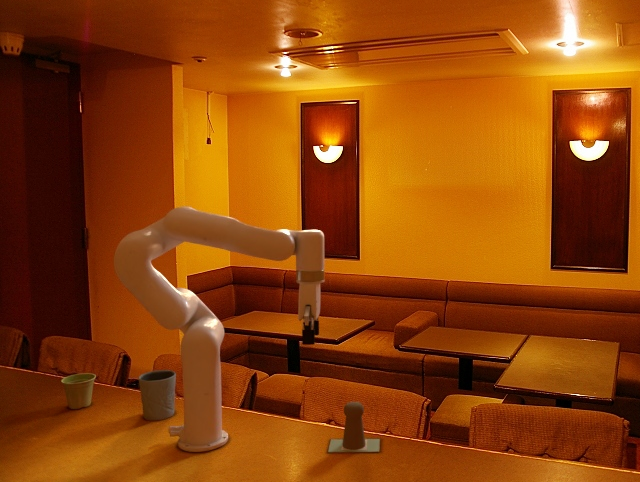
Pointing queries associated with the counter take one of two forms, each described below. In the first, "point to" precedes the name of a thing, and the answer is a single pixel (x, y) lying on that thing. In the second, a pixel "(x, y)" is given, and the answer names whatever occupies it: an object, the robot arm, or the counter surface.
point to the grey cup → (158, 394)
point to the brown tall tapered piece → (353, 426)
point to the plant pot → (78, 389)
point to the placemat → (370, 446)
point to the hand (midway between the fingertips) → (310, 339)
